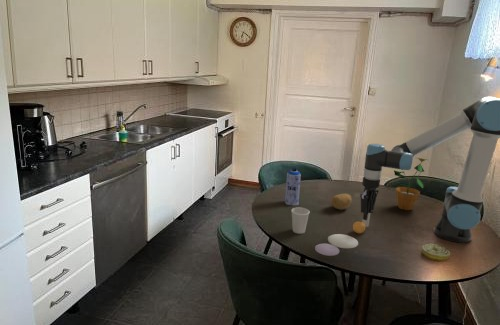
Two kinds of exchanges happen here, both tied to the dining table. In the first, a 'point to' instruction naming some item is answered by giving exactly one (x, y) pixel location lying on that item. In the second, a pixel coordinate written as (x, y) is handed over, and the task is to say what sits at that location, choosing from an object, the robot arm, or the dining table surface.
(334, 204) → the potato
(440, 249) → the decorated donut
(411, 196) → the potted plant
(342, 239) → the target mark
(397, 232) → the dining table surface
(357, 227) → the ball
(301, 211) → the dixie cup
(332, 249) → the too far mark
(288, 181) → the aerosol can
